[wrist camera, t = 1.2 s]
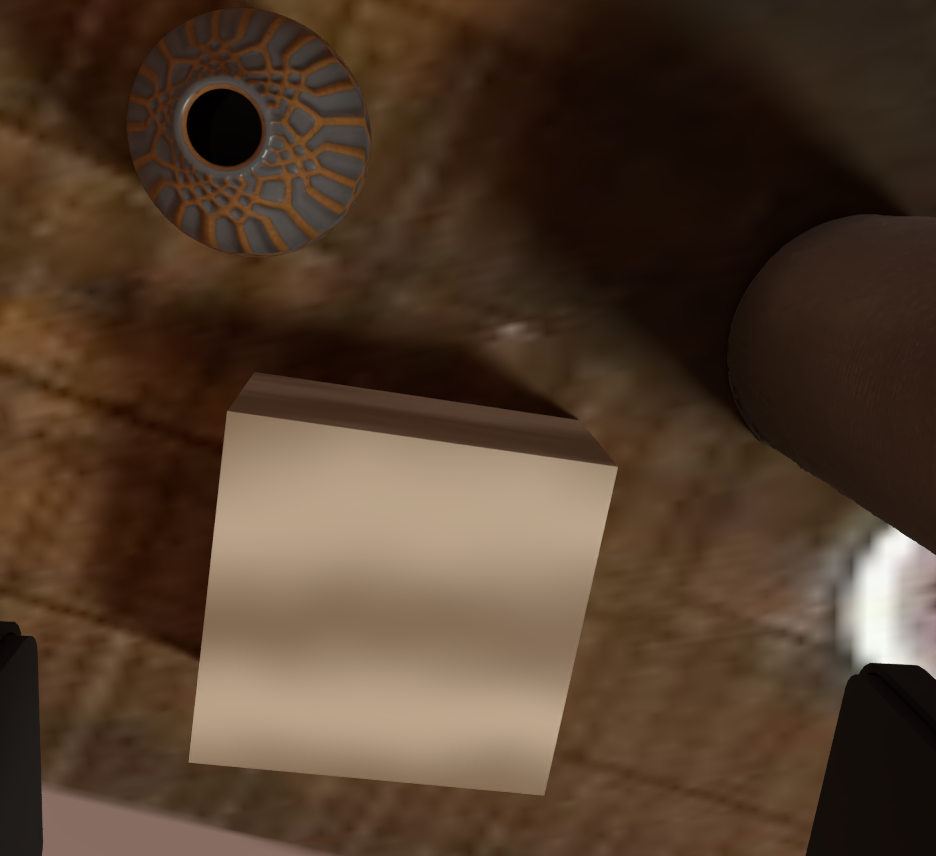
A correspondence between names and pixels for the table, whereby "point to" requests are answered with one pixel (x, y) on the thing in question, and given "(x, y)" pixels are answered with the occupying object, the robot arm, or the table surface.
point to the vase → (249, 132)
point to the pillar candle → (848, 362)
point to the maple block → (395, 586)
